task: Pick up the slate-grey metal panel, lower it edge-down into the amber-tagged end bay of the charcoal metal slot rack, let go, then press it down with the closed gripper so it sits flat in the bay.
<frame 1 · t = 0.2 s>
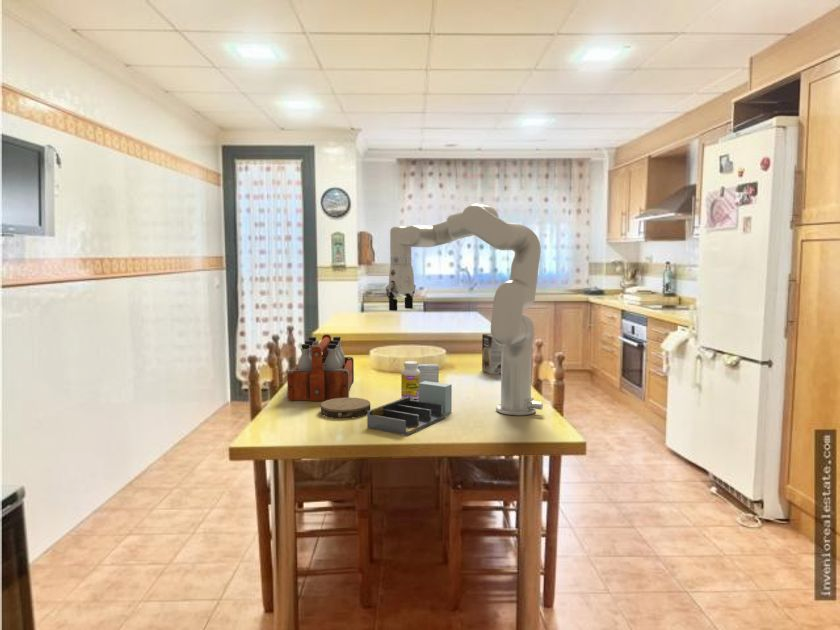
hand: (401, 309, 209), 31 cm above the table, tool pointing down, fingers open, 9 cm apart
rack: (407, 422, 175), on the table
milk bottle holder: (323, 391, 217), on the table
supplement bottle: (410, 398, 205), on the table
coffee box: (492, 372, 252), on the table
medicine box: (428, 387, 222), on the table
panel: (435, 411, 188), on the table
round wood slice: (345, 413, 188), on the table
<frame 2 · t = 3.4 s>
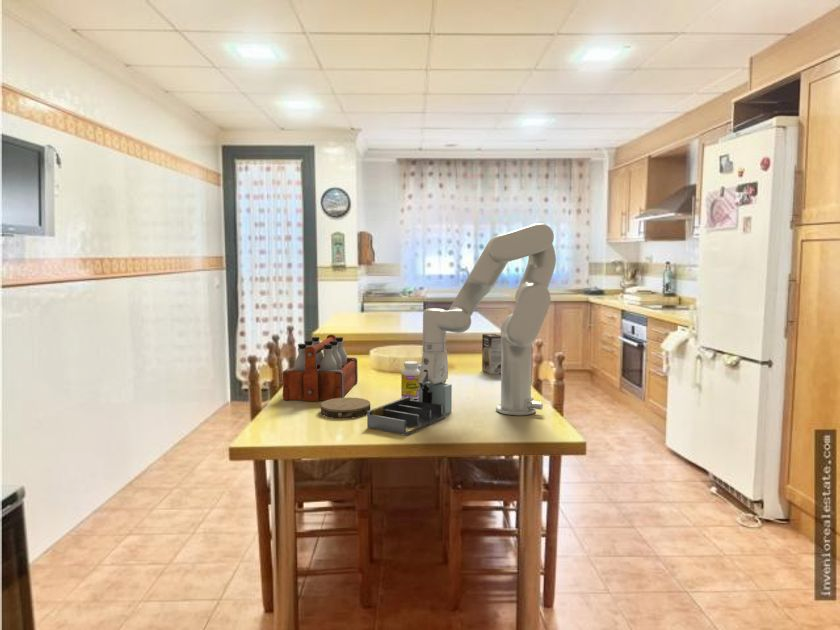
hand: (433, 401, 188), 3 cm above the table, tool pointing down, fingers open, 7 cm apart
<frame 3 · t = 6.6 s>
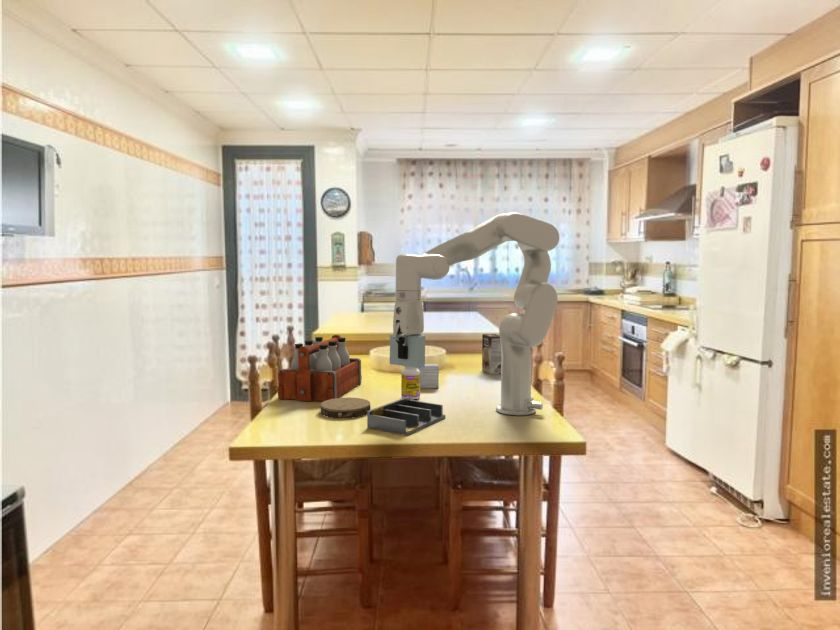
hand: (407, 357, 173), 20 cm above the table, tool pointing down, fingers closed on panel, 4 cm apart
panel: (407, 364, 174), point 18 cm above the table, touching gripper
when the fingers open (5 cm above the table, at t = 9.6 s): panel drops 2 cm, resting on rack.
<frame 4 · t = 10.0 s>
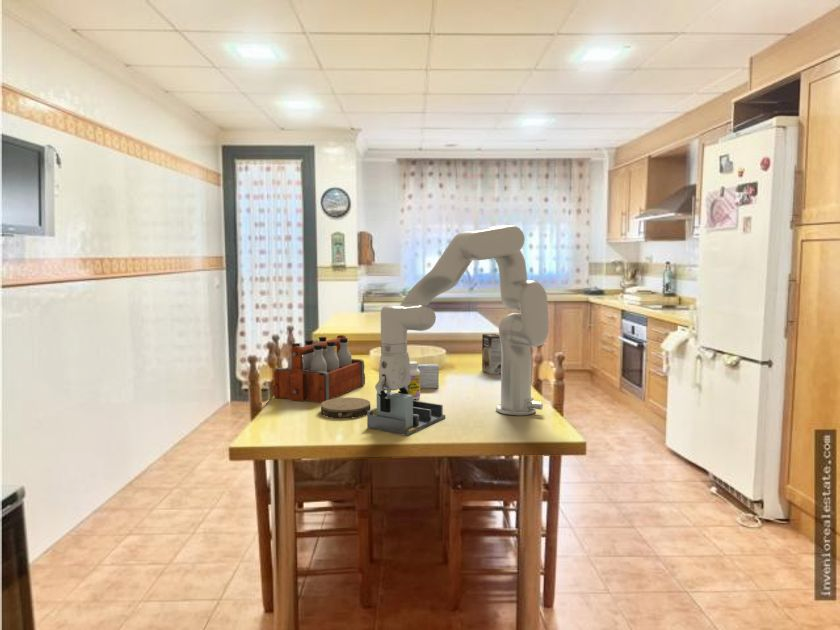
hand: (394, 408, 168), 6 cm above the table, tool pointing down, fingers open, 8 cm apart
panel: (394, 424, 169), point 1 cm above the table, touching rack
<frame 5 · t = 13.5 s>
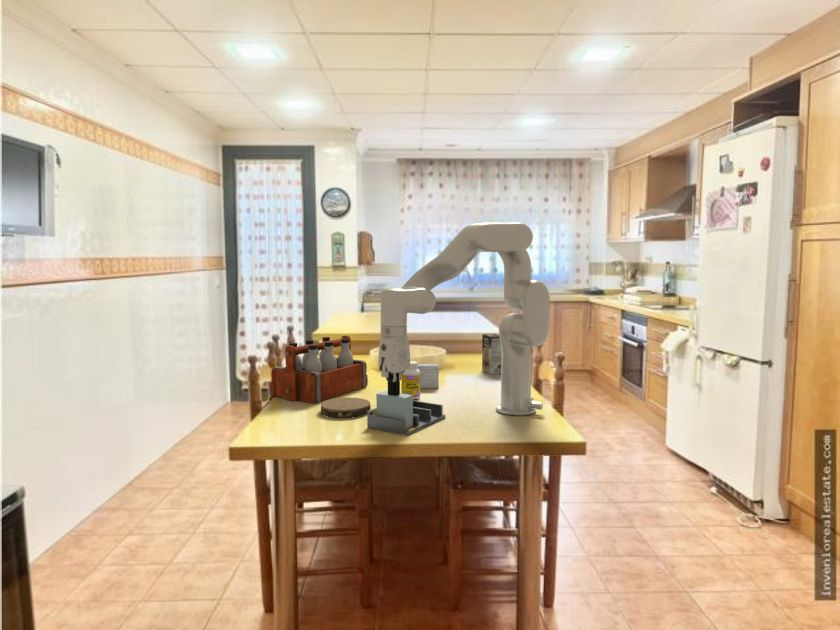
hand: (393, 394, 168), 10 cm above the table, tool pointing down, fingers closed
panel: (394, 424, 169), point 1 cm above the table, touching gripper, rack
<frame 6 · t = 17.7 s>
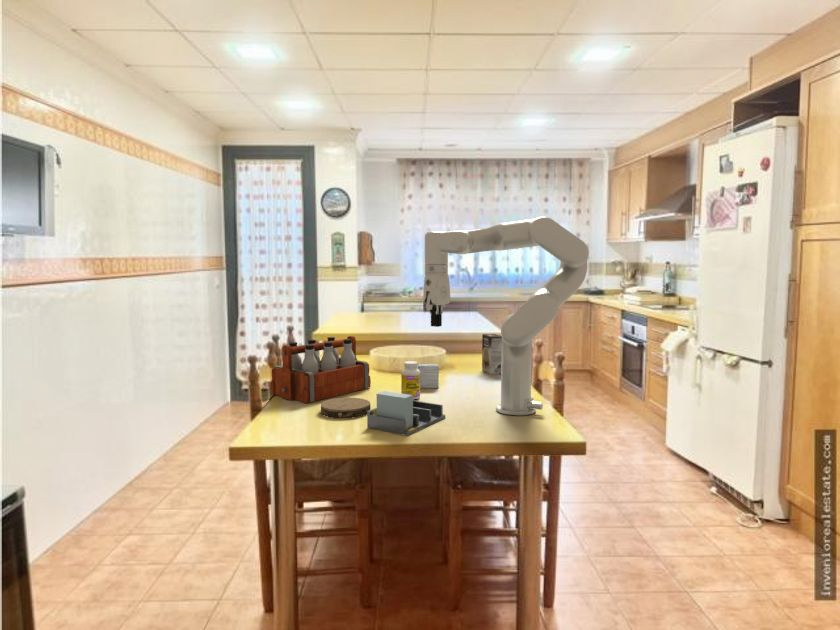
hand: (436, 326, 190), 27 cm above the table, tool pointing down, fingers closed
panel: (394, 424, 169), point 1 cm above the table, touching rack
at the end: panel 0.2 cm from the target spot on the rack, point 1.0 cm above the rack's base; panel tilted 0°; the gripper is holding nothing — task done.
